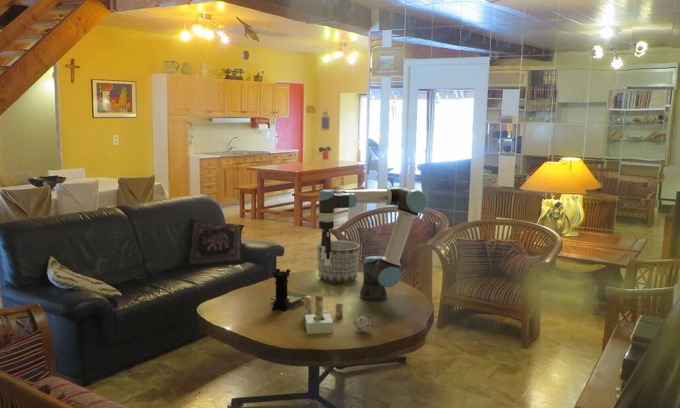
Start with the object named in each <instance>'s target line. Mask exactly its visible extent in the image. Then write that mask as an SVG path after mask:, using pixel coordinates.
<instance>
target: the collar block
mask: <svg viewBox="0 0 680 408" xmlns="http://www.w3.org/2000/svg"><path fill="white" fill-rule="evenodd" d="M333 321H334V320H333V319H332V316H331V313H323V320H317V321H315V314H313V313H311V315H305V319H304V325H305V329H306V333H307V335H308V334H309V335H311V334H312V335H313V334H331V333H334V322H333Z"/></svg>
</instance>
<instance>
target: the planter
mask: <svg viewBox="0 0 680 408" xmlns="http://www.w3.org/2000/svg"><path fill="white" fill-rule="evenodd" d="M360 248H361V245H360V244H359V243H357V242H354V241H349V240H331V259H330V265H325V258H323V259H322V244H321V242H318V243H317V244H316V251H317V265H318V266H317V270H318V277H319V279H321V280H323V281H326V282H327V281H328V283H330V282H331V283H332V284H345V283H346V284H347V283H349V282H350V281H354V280H356V279H357V278H358V272H359V260H360V259H359V258H360ZM331 283H330V284H331Z"/></svg>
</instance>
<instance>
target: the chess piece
mask: <svg viewBox="0 0 680 408" xmlns="http://www.w3.org/2000/svg"><path fill="white" fill-rule="evenodd" d="M290 272H291V269H288V268H287V269H286V270H285V271H282V270H281V269H280V268H276V270H275V271H274V270H273V272H272V275H273V279H275V282H274V284H275V300H274V301H273V305H272V307H271V310H273V311H282V312H284V311H285V312H287V311H288V310H289V309H290V308H291V307H292V304H291V301H290V299H289V298H288V282H289V279H288V277H290Z"/></svg>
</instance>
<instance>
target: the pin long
mask: <svg viewBox="0 0 680 408" xmlns="http://www.w3.org/2000/svg"><path fill="white" fill-rule="evenodd" d="M314 298H315V299H314V300H315V301H314V302H315V303H314V304H315V305H314V307H315V308H314V309H315V312H314V313H315V321H317V320H323V314H324V313H323V311H324V310H323V309H324V308H323V306H324V305H323V304H324V302H323V301H324V296H323V295H322V294H321V295H320V294H316V295H315V297H314Z"/></svg>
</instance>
